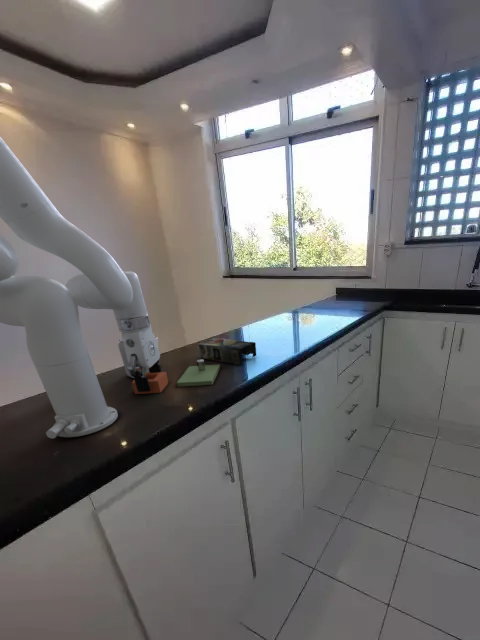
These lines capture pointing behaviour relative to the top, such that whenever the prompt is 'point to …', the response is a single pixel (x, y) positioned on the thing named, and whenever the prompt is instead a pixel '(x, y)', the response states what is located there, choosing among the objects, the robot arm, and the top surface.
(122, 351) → the can
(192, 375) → the base pad
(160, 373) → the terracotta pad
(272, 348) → the top surface
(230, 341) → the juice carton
